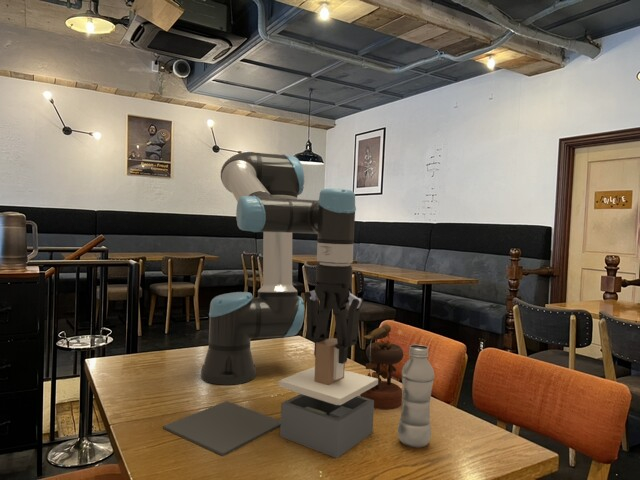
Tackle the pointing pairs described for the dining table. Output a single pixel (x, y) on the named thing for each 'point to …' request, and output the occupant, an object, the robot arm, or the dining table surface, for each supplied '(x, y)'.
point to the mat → (223, 427)
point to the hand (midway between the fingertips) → (329, 375)
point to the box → (326, 423)
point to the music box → (383, 370)
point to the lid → (328, 378)
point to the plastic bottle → (416, 398)
